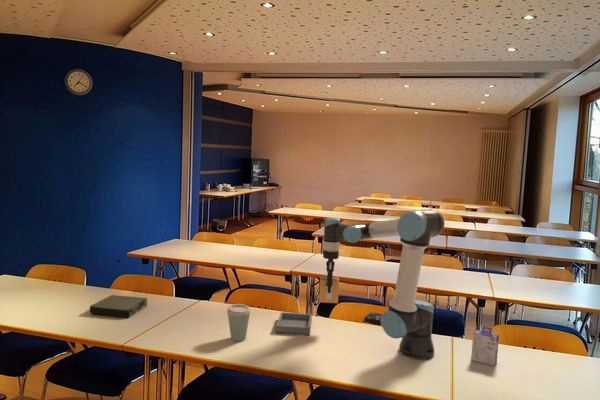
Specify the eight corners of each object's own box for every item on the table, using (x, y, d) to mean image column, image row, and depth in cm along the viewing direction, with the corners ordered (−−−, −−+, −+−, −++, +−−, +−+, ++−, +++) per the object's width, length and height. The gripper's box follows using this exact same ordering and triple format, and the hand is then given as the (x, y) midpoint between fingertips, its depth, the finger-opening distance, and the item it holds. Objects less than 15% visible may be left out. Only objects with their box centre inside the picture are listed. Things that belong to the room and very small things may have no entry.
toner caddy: (337, 303, 231) (339, 279, 230) (319, 302, 232) (320, 278, 231) (337, 299, 237) (339, 276, 236) (319, 298, 238) (320, 275, 237)
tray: (309, 335, 228) (309, 328, 227) (275, 332, 229) (276, 325, 229) (311, 321, 248) (312, 314, 247) (280, 318, 249) (281, 312, 248)
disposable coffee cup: (254, 339, 219) (255, 307, 218) (236, 345, 212) (237, 312, 210) (239, 333, 227) (240, 301, 225) (221, 338, 219) (222, 306, 217)
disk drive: (364, 322, 251) (391, 328, 244) (364, 317, 251) (391, 322, 244) (370, 317, 260) (397, 322, 253) (371, 311, 260) (398, 317, 253)
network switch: (133, 319, 239) (133, 309, 239) (86, 317, 239) (86, 307, 239) (148, 305, 262) (149, 296, 262) (106, 302, 262) (106, 293, 262)
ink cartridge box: (497, 361, 207) (500, 329, 206) (494, 366, 203) (497, 333, 201) (473, 356, 212) (476, 324, 211) (470, 360, 208) (473, 327, 206)
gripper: (323, 246, 242) (321, 291, 244) (322, 253, 223) (320, 302, 225) (338, 246, 242) (336, 292, 244) (339, 254, 223) (336, 303, 225)
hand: (328, 296), depth 234 cm, fingers closed on toner caddy, 6 cm apart
